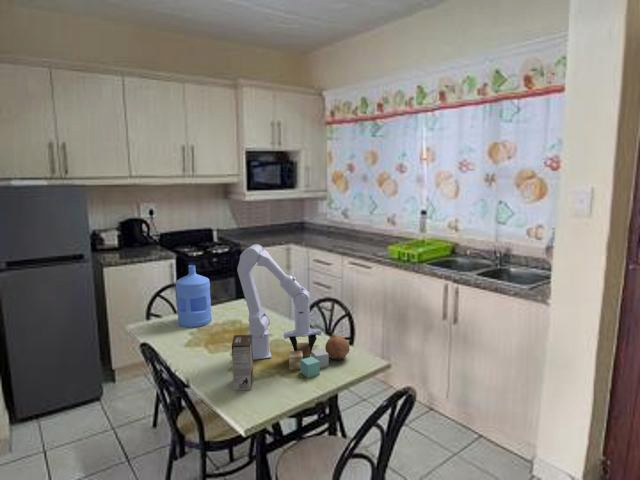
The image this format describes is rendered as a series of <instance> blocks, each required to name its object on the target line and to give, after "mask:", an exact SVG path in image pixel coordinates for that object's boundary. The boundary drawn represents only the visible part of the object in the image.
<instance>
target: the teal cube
mask: <svg viewBox="0 0 640 480" xmlns="http://www.w3.org/2000/svg"><path fill="white" fill-rule="evenodd" d="M320 371H321V368H320V361H318V360H317V359H315V358H314V357H311V356H310V357H309V358H305V359H302V360H301V369H300V373H301V374H303V376H305V377H306V378H307V379H309V378H312V377H315V376H319V375H320Z"/></svg>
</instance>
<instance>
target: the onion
mask: <svg viewBox="0 0 640 480" xmlns="http://www.w3.org/2000/svg"><path fill="white" fill-rule="evenodd" d="M324 350H325V351H326V352H327V353H328V354H329V357H330V358H331V359H333V360H336V361H341V360H343V359H344V358H346V357H347V355H348V354H349V353H350V344H349V342H348V340H347V339H346V338H344V337H343V336H339V335H336V334H332V336H330V337H329V338H328V340H327V341H326V343H325V348H324Z"/></svg>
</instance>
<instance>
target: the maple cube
mask: <svg viewBox="0 0 640 480" xmlns="http://www.w3.org/2000/svg"><path fill="white" fill-rule="evenodd" d="M302 359H303V354H302V351H294V350H293V351H292V350H291V351H290V350H288V363H289V364H288V365H289V370H301V360H302Z"/></svg>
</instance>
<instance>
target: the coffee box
mask: <svg viewBox="0 0 640 480" xmlns="http://www.w3.org/2000/svg"><path fill="white" fill-rule="evenodd" d="M231 359H232V362H231V363H232V365H231V366H232V387H233V391H249V390H250V391H251V390H253V383H254V360H253V353H252V335H248V334H236V335H233V339H232V343H231Z"/></svg>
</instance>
